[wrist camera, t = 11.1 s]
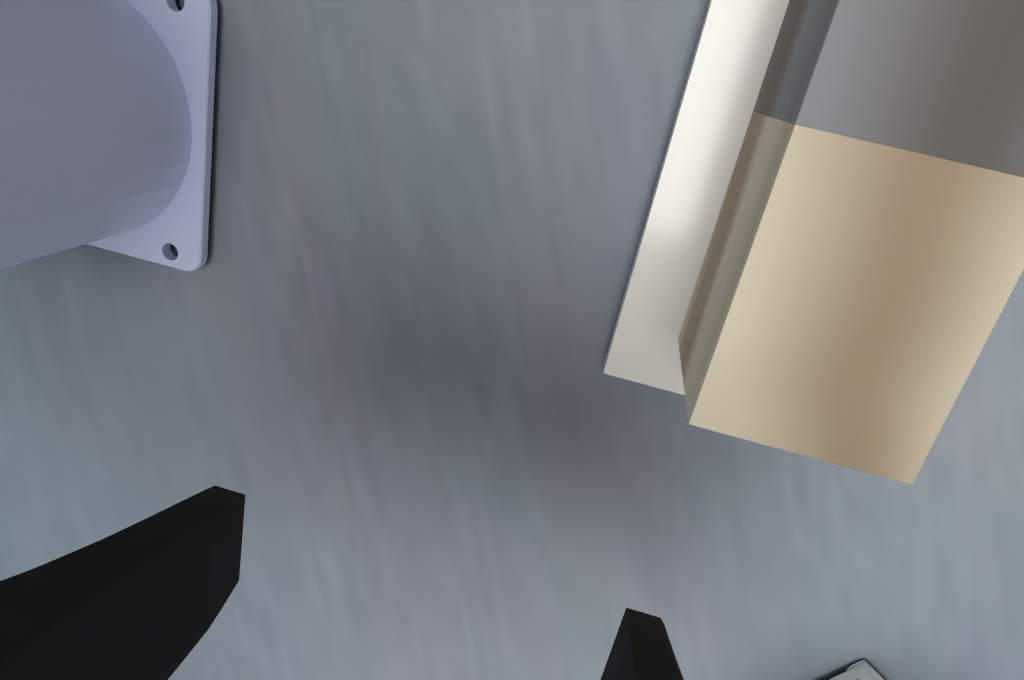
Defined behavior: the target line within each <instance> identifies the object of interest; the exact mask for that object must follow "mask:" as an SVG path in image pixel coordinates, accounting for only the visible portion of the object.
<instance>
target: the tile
mask: <svg viewBox="0 0 1024 680" xmlns="http://www.w3.org/2000/svg"><path fill="white" fill-rule="evenodd" d="M789 1H790V0H709V3H708V6H707V10H706V13H705V17H704V20H703V24H702V27H701V31H700V34H699V37H698V41H697V44H696V48H695V51H694V55H693V58H692V62H691V65H690V69H689V72H688V75H687V79H686V82H685V86H684V89H683V93H682V96H681V100H680V103H679V107H678V110H677V113H676V117H675V120H674V124H673V127H672V131H671V134H670V138H669V141H668V145H667V148H666V151H665V155H664V158H663V162H662V165H661V169H660V172H659V176H658V179H657V183H656V186H655V189H654V193H653V196H652V200H651V203H650V207H649V210H648V214H647V217H646V221H645V224H644V227H643V231H642V234H641V238H640V241H639V245H638V248H637V252H636V255H635V259H634V262H633V265H632V269H631V272H630V276H629V279H628V283H627V286H626V290H625V293H624V297H623V300H622V303H621V307H620V310H619V314H618V317H617V321H616V324H615V328H614V331H613V335H612V338H611V342H610V345H609V348H608V352H607V355H606V359H605V365H604V372H603V373H604V374H608V375H611V376H615V377H619V378H622V379H626V380H630V381H634V382H637V383H641V384H645V385H649V386H652V387H656V388H660V389H664V390H667V391H671V392H675V393H678V394H682V395H685V391H684V384H683V376H682V368H681V361H680V353H679V345H678V337H679V334H680V331H681V328H682V325H683V322H684V319H685V316H686V313H687V310H688V307H689V304H690V301H691V298H692V295H693V292H694V289H695V286H696V282H697V279H698V276H699V273H700V270H701V267H702V264H703V261H704V258H705V255H706V252H707V249H708V246H709V243H710V240H711V237H712V234H713V231H714V228H715V225H716V222H717V219H718V216H719V213H720V210H721V207H722V204H723V201H724V198H725V195H726V192H727V189H728V185H729V182H730V179H731V176H732V173H733V170H734V167H735V164H736V161H737V158H738V155H739V152H740V149H741V146H742V143H743V140H744V137H745V134H746V131H747V128H748V125H749V122H750V119H751V116H752V113H753V110H754V107H755V104H756V101H757V98H758V95H759V92H760V89H761V85H762V82H763V79H764V76H765V73H766V70H767V67H768V64H769V61H770V58H771V55H772V52H773V49H774V46H775V43H776V40H777V37H778V34H779V31H780V28H781V25H782V22H783V19H784V16H785V13H786V10H787V7H788V4H789Z"/></svg>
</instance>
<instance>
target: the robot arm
mask: <svg viewBox="0 0 1024 680" xmlns="http://www.w3.org/2000/svg"><path fill="white" fill-rule="evenodd" d="M184 2H185V3H184V7H183V9H182V10H181V11H180V10H179V9H178V7H177V6H176V1H175V0H0V269H3V268H7V267H10V266H14V265H17V264H20V263H24V262H27V261H30V260H34V259H37V258H40V257H44V256H47V255H51V254H54V253H57V252H61V251H64V250H67V249H71V248H74V247H77V246H81V245H84V244H87V245H91V246H95V247H98V248H102V249H106V250H109V251H113V252H117V253H121V254H124V255H128V256H132V257H135V258H139V259H143V260H147V261H150V262H154V263H158V264H161V265H165V266H169V267H173V268H176V269H180V270H184V271H194V270H196V269H199V268H201V267H203V266H204V264H205V263H206V260H207V251H208V228H209V204H210V181H211V157H212V133H213V110H214V86H215V63H216V39H217V16H218V8H217V1H216V0H184ZM171 244H172V245H174V246H175V247H176V249H177V251H178V256H175V255H174V254H173V253H172V252H171V248H170V245H171ZM244 505H245V494H241V493H238V492H234V491H231V490H228V489H224V488H221V487H218V486H213V487H211V488H209V489H206V490H204V491H202V492H200V493H198V494H196V495H194V496H192V497H190V498H188V499H185V500H183V501H181V502H179V503H177V504H175V505H173V506H171V507H169V508H167V509H165V510H163V511H161V512H159V513H157V514H155V515H153V516H151V517H149V518H147V519H145V520H143V521H140V522H138V523H136V524H134V525H132V526H130V527H128V528H126V529H124V530H121V531H119V532H117V533H115V534H113V535H111V536H109V537H107V538H104V539H102V540H100V541H98V542H95V543H93V544H91V545H88V546H86V547H84V548H81V549H79V550H77V551H74V552H72V553H70V554H67V555H65V556H63V557H60V558H58V559H56V560H53V561H51V562H49V563H46V564H44V565H42V566H39V567H37V568H34V569H31V570H29V571H26V572H24V573H21V574H18V575H16V576H13V577H10V578H8V579H5V580H2V581H0V680H168V679H169V677H170V676H171V675H172V674H173V672H174V671H175V670H176V669H177V668H178V666H179V665H180V664H181V663H182V661H183V660H184V659H185V658H186V656H187V655H188V654H189V653H190V651H191V650H192V649H193V648H194V646H195V645H196V644H197V643H198V642H199V640H200V639H201V638H202V636H203V635H204V634H205V633H206V631H207V630H208V629H209V627H210V626H211V624H212V623H213V621H214V619H215V618H216V616H217V615H218V613H219V612H220V610H221V609H222V607H223V606H224V604H225V602H226V601H227V599H228V597H229V596H230V594H231V593H232V591H233V589H234V588H235V586H236V584H237V583H238V581H239V572H240V558H241V545H242V532H243V518H244ZM601 680H684V679H683V677H682V674H681V671H680V669H679V666H678V663H677V660H676V658H675V655H674V652H673V649H672V646H671V643H670V640H669V637H668V634H667V631H666V628H665V625H664V623H663V621H662V620H661V618H659V617H656V616H652V615H649V614H645V613H642V612H639V611H635V610H632V609H629V608H626V610H625V613H624V616H623V619H622V622H621V624H620V627H619V630H618V633H617V636H616V638H615V641H614V644H613V647H612V650H611V652H610V655H609V658H608V661H607V664H606V666H605V669H604V672H603V675H602V678H601Z"/></svg>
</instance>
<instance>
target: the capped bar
mask: <svg viewBox="0 0 1024 680" xmlns="http://www.w3.org/2000/svg"><path fill="white" fill-rule="evenodd" d="M1023 269H1024V0H790V1H789V4H788V7H787V10H786V13H785V16H784V19H783V22H782V25H781V28H780V31H779V34H778V37H777V40H776V43H775V46H774V49H773V52H772V55H771V58H770V61H769V64H768V67H767V70H766V73H765V76H764V79H763V82H762V85H761V89H760V92H759V95H758V98H757V101H756V104H755V107H754V110H753V113H752V116H751V119H750V122H749V125H748V128H747V131H746V134H745V137H744V140H743V143H742V146H741V149H740V152H739V155H738V158H737V161H736V164H735V167H734V170H733V173H732V176H731V179H730V182H729V185H728V189H727V192H726V195H725V198H724V201H723V204H722V207H721V210H720V213H719V216H718V219H717V222H716V225H715V228H714V231H713V234H712V237H711V240H710V243H709V246H708V249H707V252H706V255H705V258H704V261H703V264H702V267H701V270H700V273H699V276H698V279H697V282H696V286H695V289H694V292H693V295H692V298H691V301H690V304H689V307H688V310H687V313H686V316H685V319H684V322H683V325H682V328H681V331H680V334H679V337H678V345H679V353H680V361H681V368H682V376H683V384H684V391H685V399H686V407H687V414H688V422H689V424H690V425H693V426H697V427H701V428H704V429H708V430H712V431H715V432H719V433H723V434H726V435H730V436H734V437H737V438H741V439H745V440H748V441H752V442H756V443H759V444H763V445H767V446H771V447H774V448H778V449H782V450H785V451H789V452H793V453H796V454H800V455H804V456H807V457H811V458H815V459H818V460H822V461H826V462H829V463H833V464H837V465H840V466H844V467H848V468H852V469H855V470H859V471H863V472H866V473H870V474H874V475H877V476H881V477H885V478H888V479H892V480H896V481H899V482H903V483H907V484H910V485H912V484H913V482H914V480H915V478H916V476H917V474H918V472H919V470H920V468H921V466H922V464H923V462H924V460H925V458H926V456H927V455H928V453H929V451H930V449H931V447H932V445H933V443H934V441H935V439H936V437H937V435H938V433H939V431H940V429H941V427H942V426H943V424H944V422H945V420H946V418H947V416H948V414H949V412H950V410H951V408H952V406H953V404H954V402H955V400H956V398H957V397H958V395H959V393H960V391H961V389H962V387H963V385H964V383H965V381H966V379H967V377H968V375H969V373H970V371H971V370H972V368H973V366H974V364H975V362H976V360H977V358H978V356H979V354H980V352H981V350H982V348H983V346H984V344H985V342H986V341H987V339H988V337H989V335H990V333H991V331H992V329H993V327H994V325H995V323H996V321H997V319H998V317H999V315H1000V313H1001V312H1002V310H1003V308H1004V306H1005V304H1006V302H1007V300H1008V298H1009V296H1010V294H1011V292H1012V290H1013V288H1014V286H1015V284H1016V283H1017V281H1018V279H1019V277H1020V275H1021V273H1022V271H1023Z"/></svg>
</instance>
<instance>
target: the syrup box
mask: <svg viewBox="0 0 1024 680" xmlns="http://www.w3.org/2000/svg"><path fill="white" fill-rule="evenodd" d="M830 680H884V679H883V678H882V677H881V676H880V675H879V674H878V673H877V672H876V671H875V670H874V669H873V668H872V667H871V666H870V665H869V664H868V663H867V662H866V661H864V660H863V661H859V662H857V663H855V664H853V665H851V666H849V667H848V668H847V670H846V672H844V673H842V674H839V675H837V676H835V677H833V678H831V679H830Z"/></svg>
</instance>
